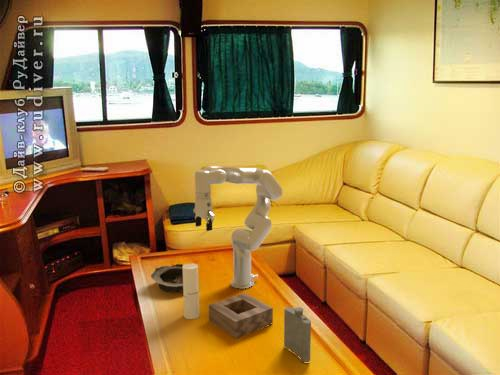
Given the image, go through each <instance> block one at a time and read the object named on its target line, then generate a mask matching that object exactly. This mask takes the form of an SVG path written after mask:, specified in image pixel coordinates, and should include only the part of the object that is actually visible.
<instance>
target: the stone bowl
mask: <svg viewBox="0 0 500 375" xmlns="http://www.w3.org/2000/svg"><path fill="white" fill-rule="evenodd" d="M183 265H184V264H182V263H180V264H179V263H176V264H174V265H173V264H172V265H171V266H169V265H162V266H160V267H156V268H155V270H154V271H153V273H152V274H150V275H151V276H150V277H151V279H152V280H153V281H155V283H157V284H158V286H159V289H160V290H161V291H163V292H165V293H180V292H183Z"/></svg>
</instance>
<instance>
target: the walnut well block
mask: <svg viewBox="0 0 500 375" xmlns="http://www.w3.org/2000/svg"><path fill="white" fill-rule="evenodd" d="M273 317H274V308H273V307H272V306H270V305H268V304H266V303H264V302H263V301H261V300H258V299H257V298H255V297H253V296H251V295H249V294H247V293H246V292H243V293H240V294H237V295H234V296H231V297H228V298H226V299H222V300H219V301H217V302H213V303H211V304H208V321H209V322H210V323H211V324H212V325H215V326H216V327H217V328H219V329H220V330H223V332H225V333H227V335H229V336H231V337H232V338H234V339H239V338H242V337H244V336H246V335H249V334H252V333H254V332H256V331H259V330H262V329H264V328H266V327H265V326H267V325H269V324H271V323H273V324H274V322H273V320H274V318H273ZM269 326H270V325H269ZM263 327H264V328H263ZM267 327H268V326H267ZM261 328H262V329H261ZM258 329H259V330H258Z"/></svg>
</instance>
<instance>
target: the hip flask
mask: <svg viewBox="0 0 500 375" xmlns="http://www.w3.org/2000/svg"><path fill="white" fill-rule="evenodd" d="M283 311H284V313H283V314H284V316H283V319H284V320H283V322H284V324H283V325H284V326H283V327H284V328H283V329H284V330H283V332H284V333H283V342H284V343H283V347H284V346H285V347H286V348H288V349H290V350H291V351H292V352H294V353H295V354H296V355H297V356H299V357H300V358H301V360H302V361H303V362H309V361H310V362H311V340H312V339H311V338H312V337H311V335H312V330H311V329H312V327H311V326H312V321H311V320H310V318H309V317H307V316H306V315H305V314H303V313H304V308H303V307H301V306H300V307H299V306H296V307H294V308H293V307H290V306H286V307H284V310H283ZM292 352H291V353H292ZM296 355H295V356H296ZM297 356H296V357H297ZM301 360H300V361H301ZM302 361H301V362H302ZM303 362H302V363H303Z"/></svg>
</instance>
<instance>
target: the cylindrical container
mask: <svg viewBox="0 0 500 375" xmlns="http://www.w3.org/2000/svg"><path fill="white" fill-rule="evenodd" d="M182 265H183V291H182V292H183V293H182V294H183V316H184V319H187V320H195V319H198V318H199V317H200V290H199V266H198V264H197V263H192V262H191V263H190V262H189V263H184V264H182Z"/></svg>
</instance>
